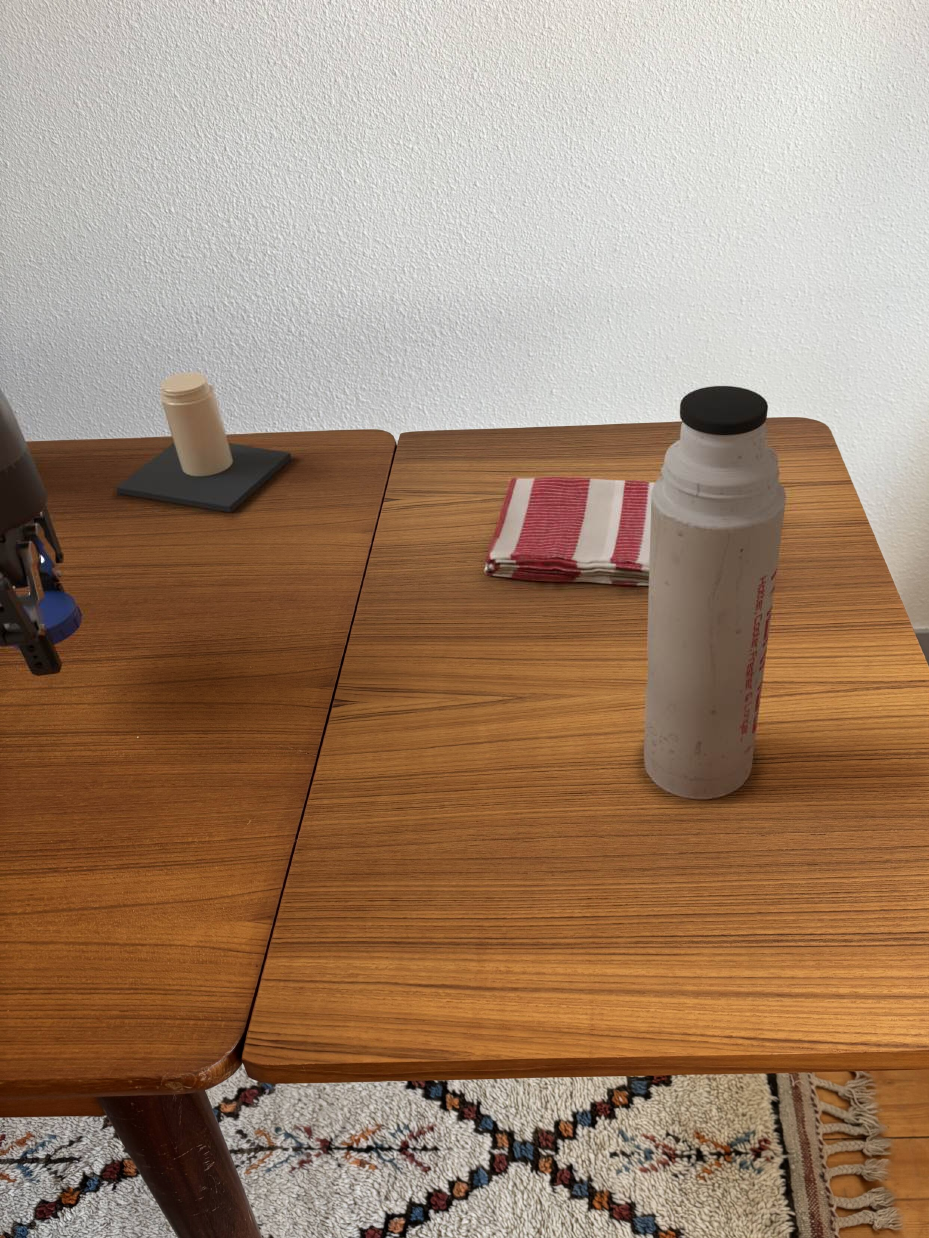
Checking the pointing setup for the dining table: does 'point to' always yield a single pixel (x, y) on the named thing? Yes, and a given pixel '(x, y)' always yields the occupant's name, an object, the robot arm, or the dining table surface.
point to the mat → (205, 479)
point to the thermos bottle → (711, 593)
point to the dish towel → (573, 531)
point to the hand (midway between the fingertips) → (55, 646)
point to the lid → (59, 615)
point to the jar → (195, 424)
